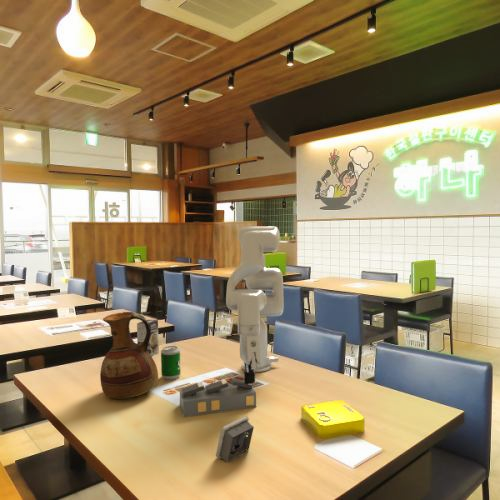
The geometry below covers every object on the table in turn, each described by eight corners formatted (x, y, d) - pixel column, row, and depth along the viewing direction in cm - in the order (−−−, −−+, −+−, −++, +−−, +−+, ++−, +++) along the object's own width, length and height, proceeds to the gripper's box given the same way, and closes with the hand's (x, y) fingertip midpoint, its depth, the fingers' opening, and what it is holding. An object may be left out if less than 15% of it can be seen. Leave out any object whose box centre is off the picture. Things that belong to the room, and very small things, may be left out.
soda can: (176, 381, 166) (175, 351, 166) (158, 380, 168) (157, 350, 167) (183, 374, 174) (182, 345, 173) (166, 373, 175) (165, 345, 175)
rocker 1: (202, 385, 143) (201, 381, 143) (204, 389, 139) (203, 385, 139) (182, 392, 141) (181, 388, 141) (183, 396, 137) (182, 392, 137)
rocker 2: (225, 382, 145) (224, 378, 145) (228, 386, 141) (227, 382, 141) (206, 389, 143) (205, 385, 143) (208, 393, 139) (207, 389, 139)
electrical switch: (240, 445, 116) (242, 413, 115) (254, 453, 113) (256, 420, 112) (215, 459, 110) (216, 425, 109) (228, 468, 106) (230, 433, 105)
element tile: (367, 433, 123) (367, 417, 122) (320, 441, 119) (319, 424, 118) (342, 412, 137) (342, 397, 137) (299, 418, 133) (298, 403, 133)
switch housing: (247, 395, 151) (247, 380, 150) (256, 407, 141) (256, 390, 141) (179, 404, 144) (179, 388, 144) (184, 417, 134) (183, 400, 134)
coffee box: (149, 358, 197) (148, 323, 196) (137, 357, 199) (136, 323, 198) (159, 352, 206) (158, 319, 205) (147, 351, 208) (146, 318, 207)
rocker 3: (248, 384, 147) (249, 380, 147) (251, 388, 144) (252, 384, 144) (229, 381, 145) (230, 377, 145) (232, 385, 142) (233, 381, 142)
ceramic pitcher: (99, 388, 160) (96, 309, 158) (153, 380, 168) (150, 305, 166) (103, 408, 142) (100, 319, 140) (163, 398, 150) (161, 314, 148)
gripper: (266, 332, 138) (267, 388, 138) (252, 324, 152) (253, 374, 153) (244, 334, 136) (245, 391, 136) (232, 325, 150) (233, 377, 151)
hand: (249, 382), depth 145 cm, fingers closed
